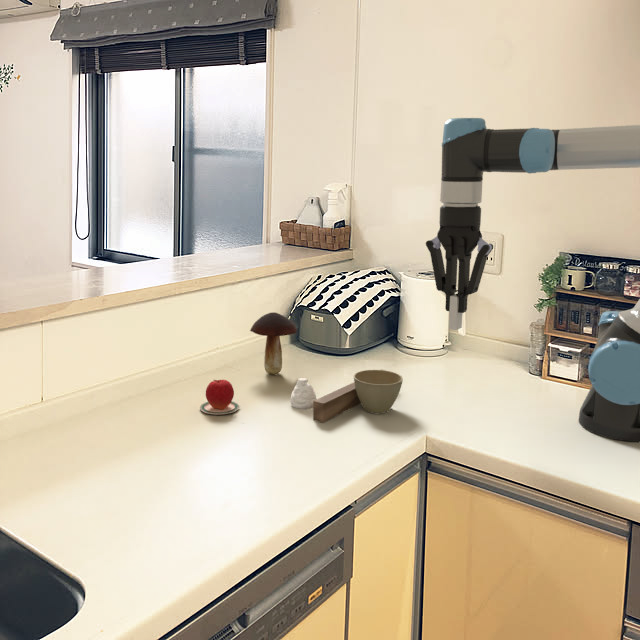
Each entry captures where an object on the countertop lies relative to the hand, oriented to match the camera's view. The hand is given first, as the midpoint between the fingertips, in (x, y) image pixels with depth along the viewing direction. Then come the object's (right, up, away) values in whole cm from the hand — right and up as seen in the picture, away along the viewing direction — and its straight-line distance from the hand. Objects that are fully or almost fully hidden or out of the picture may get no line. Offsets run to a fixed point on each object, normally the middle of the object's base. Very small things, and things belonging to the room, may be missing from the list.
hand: (455, 328), depth 136 cm
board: (-19, -16, +13) cm, 28 cm away
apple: (-47, -17, +9) cm, 50 cm away
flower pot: (-14, -17, +10) cm, 25 cm away
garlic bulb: (-30, -16, +12) cm, 36 cm away
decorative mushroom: (-37, -11, +31) cm, 50 cm away
